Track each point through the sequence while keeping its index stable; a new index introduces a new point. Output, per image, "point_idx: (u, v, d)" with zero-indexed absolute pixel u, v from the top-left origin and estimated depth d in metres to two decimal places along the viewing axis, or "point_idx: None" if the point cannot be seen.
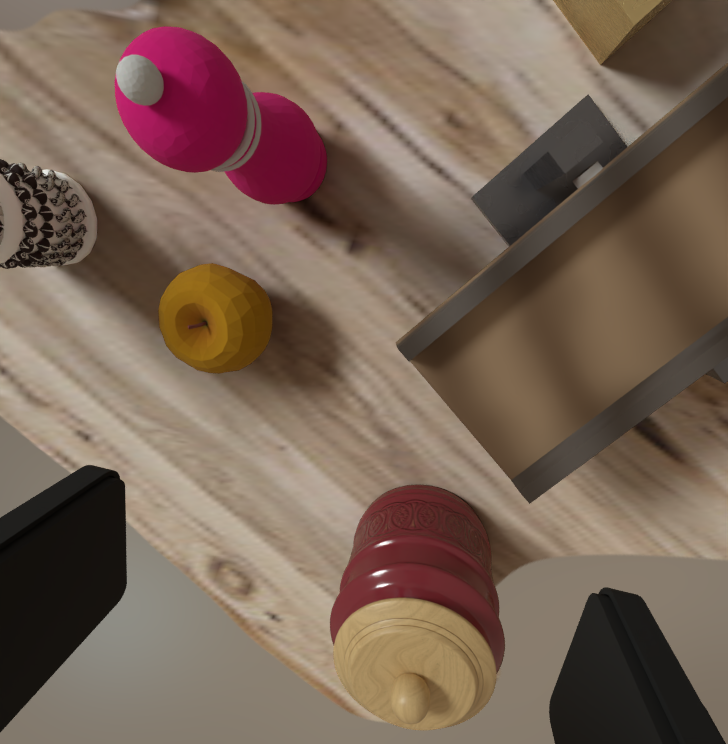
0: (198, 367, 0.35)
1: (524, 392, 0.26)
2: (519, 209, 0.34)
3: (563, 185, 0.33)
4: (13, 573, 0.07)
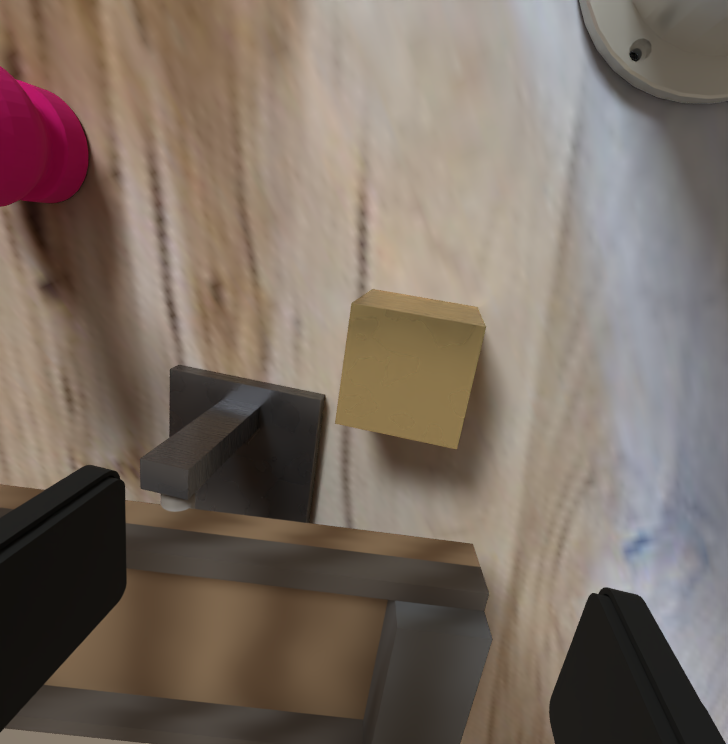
0: None
1: None
2: None
3: None
4: (13, 573, 0.07)
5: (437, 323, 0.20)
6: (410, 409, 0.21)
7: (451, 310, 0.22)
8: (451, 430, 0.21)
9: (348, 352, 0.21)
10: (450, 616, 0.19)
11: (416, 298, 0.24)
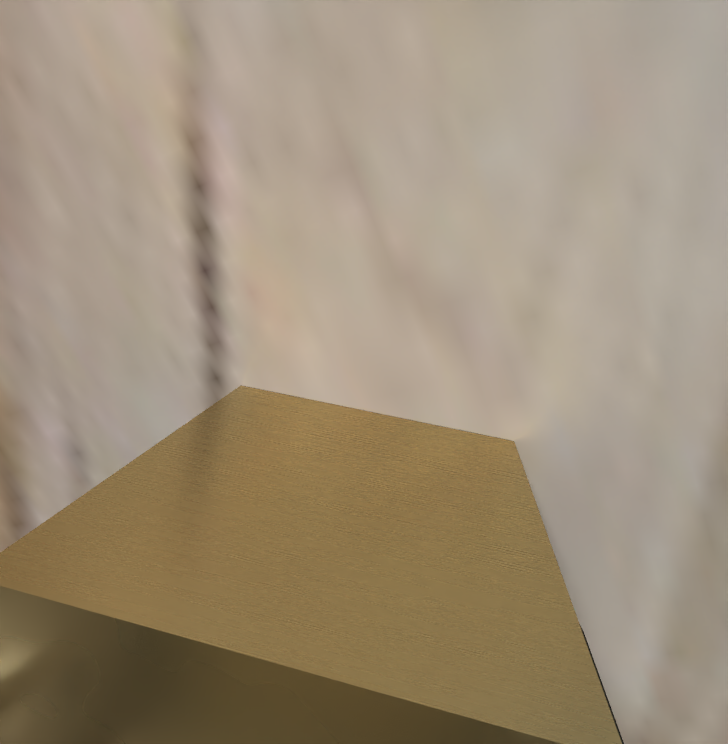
0: None
1: None
2: None
3: None
4: None
5: (369, 709, 0.04)
6: None
7: (442, 506, 0.06)
8: None
9: None
10: None
11: (345, 424, 0.09)
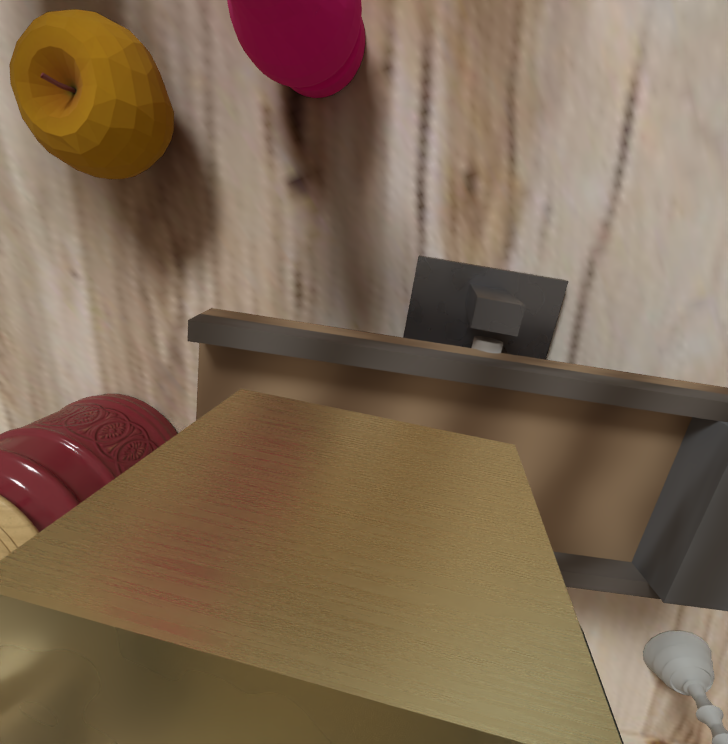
0: (26, 123, 0.26)
1: None
2: (439, 305, 0.31)
3: None
4: None
5: (371, 719, 0.04)
6: None
7: (444, 512, 0.06)
8: None
9: None
10: None
11: (346, 428, 0.09)
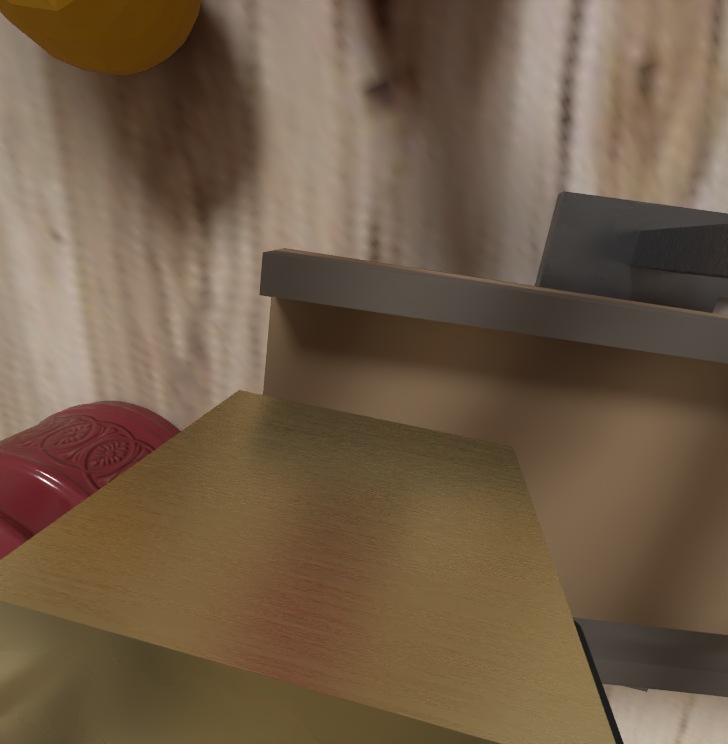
0: None
1: None
2: (591, 265, 0.21)
3: (657, 292, 0.21)
4: None
5: (365, 725, 0.04)
6: None
7: (441, 514, 0.06)
8: None
9: None
10: None
11: (344, 430, 0.09)
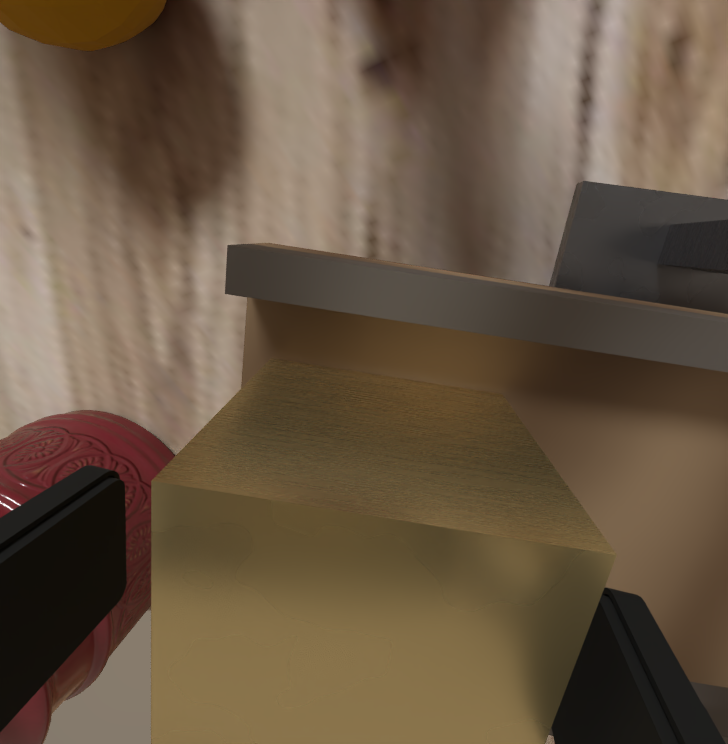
0: None
1: None
2: (613, 264, 0.19)
3: (688, 294, 0.19)
4: (13, 573, 0.07)
5: (452, 544, 0.06)
6: None
7: (464, 435, 0.08)
8: None
9: (162, 623, 0.06)
10: None
11: (369, 384, 0.10)
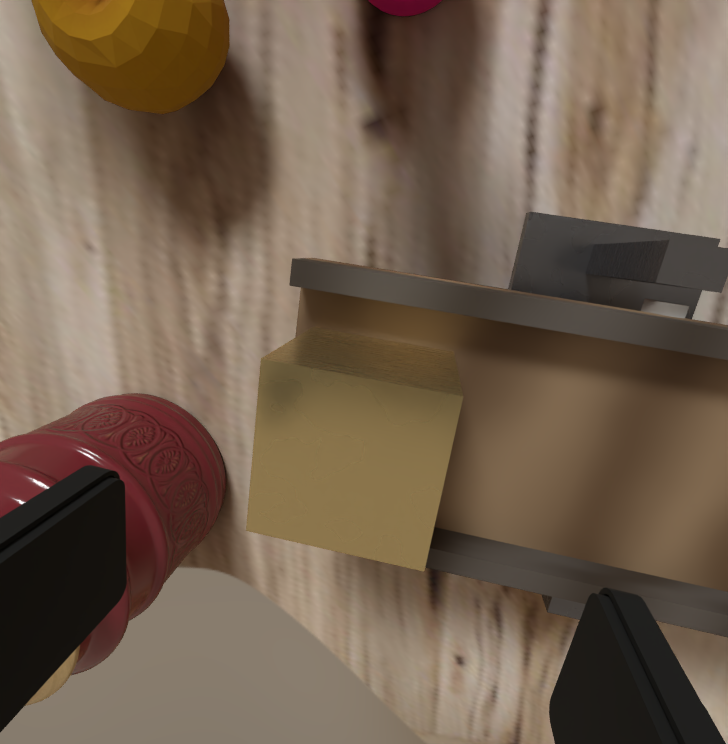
0: (42, 28, 0.20)
1: None
2: (553, 273, 0.25)
3: (609, 296, 0.25)
4: (13, 573, 0.07)
5: (390, 390, 0.13)
6: (354, 514, 0.14)
7: (415, 362, 0.16)
8: (415, 544, 0.14)
9: (260, 430, 0.14)
10: None
11: (370, 341, 0.18)
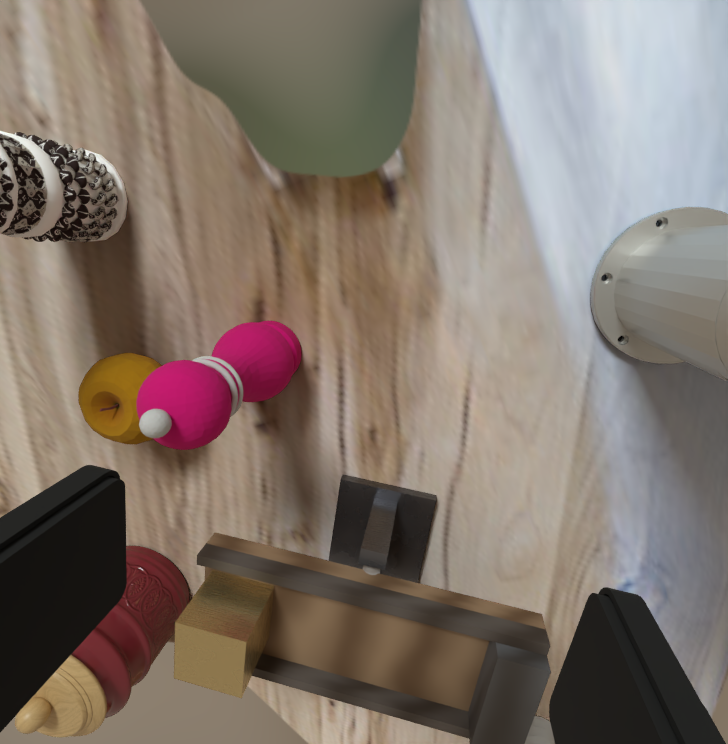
0: (87, 422, 0.42)
1: None
2: (356, 508, 0.47)
3: None
4: (13, 573, 0.07)
5: (221, 637, 0.35)
6: (213, 676, 0.36)
7: (244, 607, 0.37)
8: (237, 688, 0.36)
9: (176, 645, 0.36)
10: (527, 656, 0.35)
11: (234, 584, 0.40)
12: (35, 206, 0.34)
